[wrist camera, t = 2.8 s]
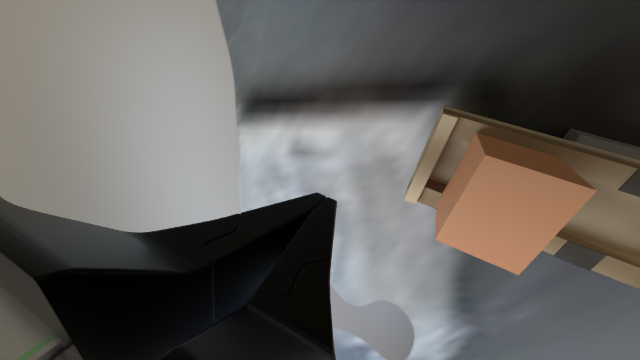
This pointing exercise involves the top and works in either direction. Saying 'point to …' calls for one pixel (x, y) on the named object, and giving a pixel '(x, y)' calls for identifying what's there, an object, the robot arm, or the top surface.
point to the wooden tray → (580, 155)
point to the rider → (507, 202)
